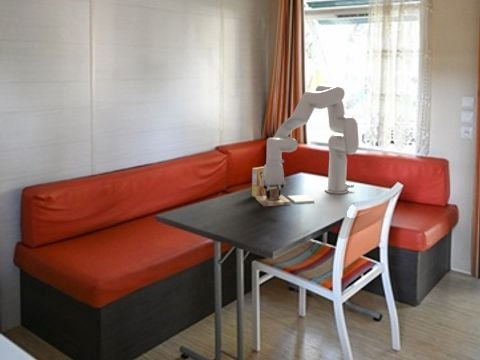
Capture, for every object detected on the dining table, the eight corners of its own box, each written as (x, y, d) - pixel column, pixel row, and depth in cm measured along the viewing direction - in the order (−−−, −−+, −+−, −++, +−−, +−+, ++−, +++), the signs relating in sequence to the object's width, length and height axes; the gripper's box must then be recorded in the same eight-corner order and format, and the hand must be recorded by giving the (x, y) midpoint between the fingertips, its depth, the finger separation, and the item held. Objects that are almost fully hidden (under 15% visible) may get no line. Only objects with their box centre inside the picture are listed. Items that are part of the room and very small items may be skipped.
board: (305, 196, 287) (305, 194, 286) (314, 202, 275) (314, 200, 275) (287, 197, 284) (287, 195, 284) (295, 203, 273) (295, 201, 273)
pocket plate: (281, 197, 284) (281, 194, 284) (290, 204, 271) (290, 201, 271) (255, 199, 281) (255, 196, 281) (263, 206, 268) (263, 203, 267)
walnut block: (275, 200, 279) (276, 187, 277) (278, 202, 274) (278, 189, 273) (267, 200, 278) (267, 187, 276) (270, 203, 273) (270, 189, 272)
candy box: (264, 193, 292) (264, 165, 288) (269, 195, 289) (269, 167, 285) (251, 196, 286) (251, 167, 283) (256, 197, 283) (257, 169, 280)
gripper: (287, 160, 277) (286, 194, 281) (255, 161, 273) (255, 196, 277) (292, 163, 270) (291, 198, 274) (259, 164, 266) (259, 200, 270)
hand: (273, 197), depth 275 cm, fingers closed on walnut block, 4 cm apart
